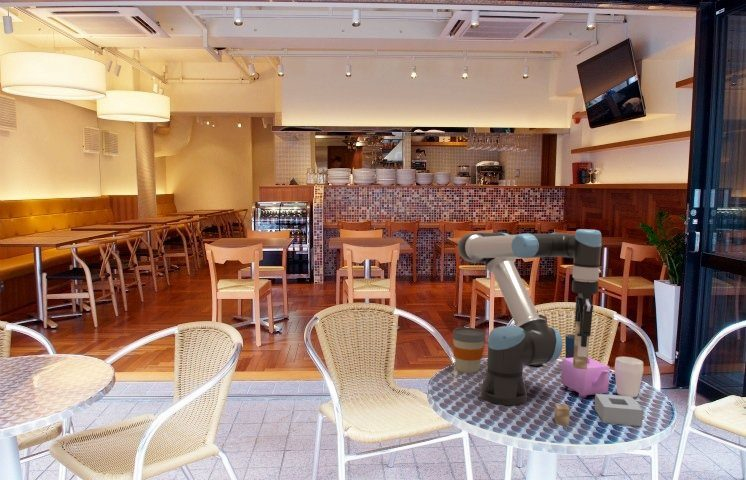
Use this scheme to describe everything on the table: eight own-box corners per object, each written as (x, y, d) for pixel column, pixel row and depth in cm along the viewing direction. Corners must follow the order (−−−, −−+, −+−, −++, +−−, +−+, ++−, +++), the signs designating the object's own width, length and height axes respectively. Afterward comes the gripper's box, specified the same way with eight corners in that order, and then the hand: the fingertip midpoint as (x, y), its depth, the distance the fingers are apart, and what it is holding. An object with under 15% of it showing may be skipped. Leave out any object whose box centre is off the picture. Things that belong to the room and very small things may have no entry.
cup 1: (584, 377, 204) (587, 339, 202) (566, 377, 204) (569, 338, 202) (578, 371, 211) (580, 334, 209) (560, 371, 211) (562, 333, 209)
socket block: (603, 422, 163) (604, 406, 163) (594, 408, 174) (595, 393, 174) (641, 426, 162) (642, 410, 161) (630, 411, 172) (631, 396, 172)
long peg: (575, 368, 166) (578, 324, 165) (572, 364, 170) (575, 321, 168) (587, 369, 166) (590, 324, 164) (584, 365, 169) (587, 322, 168)
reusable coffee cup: (486, 366, 214) (488, 329, 213) (479, 376, 203) (481, 337, 201) (456, 362, 219) (457, 325, 218) (447, 371, 208) (448, 332, 206)
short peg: (556, 424, 162) (557, 408, 161) (554, 419, 165) (555, 403, 165) (568, 425, 161) (569, 409, 161) (566, 420, 164) (567, 404, 164)
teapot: (556, 385, 195) (558, 351, 194) (579, 382, 198) (581, 349, 197) (595, 406, 176) (597, 369, 175) (620, 403, 180) (622, 366, 178)
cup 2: (644, 400, 183) (647, 365, 182) (616, 397, 184) (618, 363, 183) (637, 390, 192) (639, 357, 190) (610, 388, 193) (612, 355, 192)
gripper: (605, 285, 156) (600, 363, 159) (592, 276, 173) (587, 347, 175) (578, 283, 158) (573, 361, 160) (567, 275, 174) (563, 345, 176)
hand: (580, 354), depth 167 cm, fingers closed on long peg, 3 cm apart
